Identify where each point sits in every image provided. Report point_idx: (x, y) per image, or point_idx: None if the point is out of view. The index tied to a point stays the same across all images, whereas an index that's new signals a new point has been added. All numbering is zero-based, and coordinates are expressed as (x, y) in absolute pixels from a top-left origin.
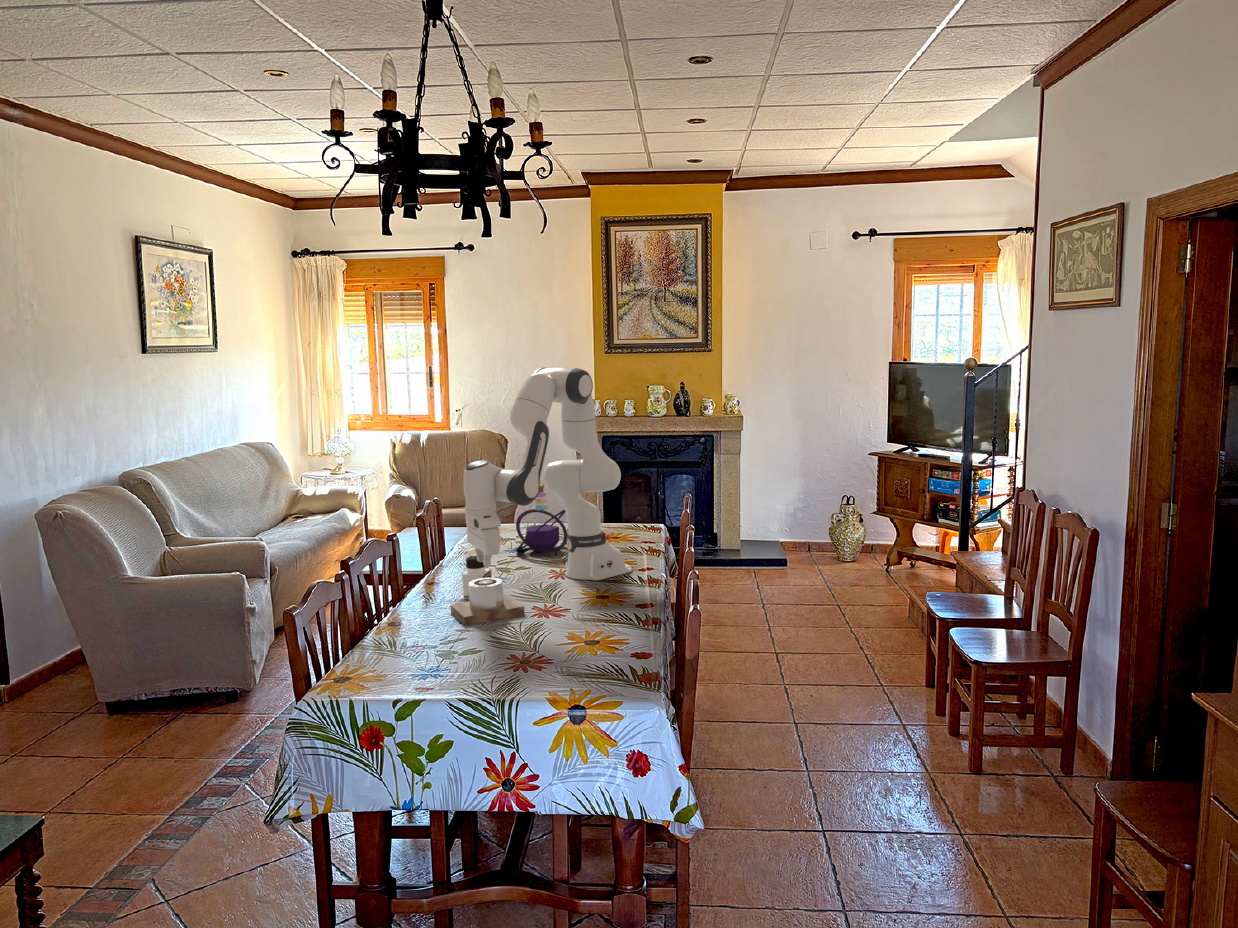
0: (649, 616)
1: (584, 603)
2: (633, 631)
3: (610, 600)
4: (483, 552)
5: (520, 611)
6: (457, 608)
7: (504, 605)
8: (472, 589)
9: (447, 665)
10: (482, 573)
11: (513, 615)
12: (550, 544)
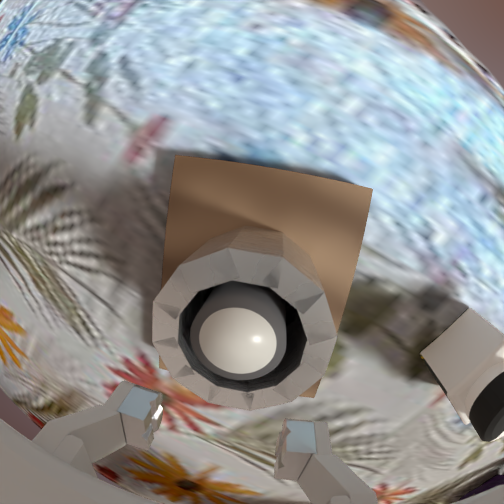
0: None
1: (168, 458)
2: (12, 387)
3: (159, 479)
4: (68, 455)
5: None
6: (302, 183)
7: None
8: (220, 246)
9: (14, 59)
10: (456, 397)
11: None
12: None
